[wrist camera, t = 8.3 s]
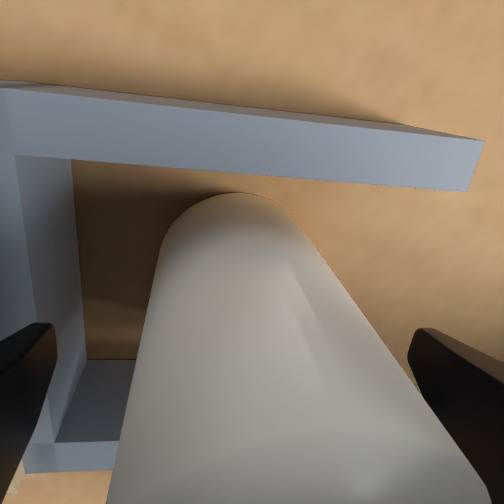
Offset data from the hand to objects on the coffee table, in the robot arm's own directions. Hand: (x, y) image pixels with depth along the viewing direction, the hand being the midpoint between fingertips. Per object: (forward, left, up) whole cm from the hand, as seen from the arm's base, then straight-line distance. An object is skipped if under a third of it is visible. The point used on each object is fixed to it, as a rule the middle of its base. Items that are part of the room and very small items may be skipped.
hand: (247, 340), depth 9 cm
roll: (0, 0, -4) cm, 4 cm away
